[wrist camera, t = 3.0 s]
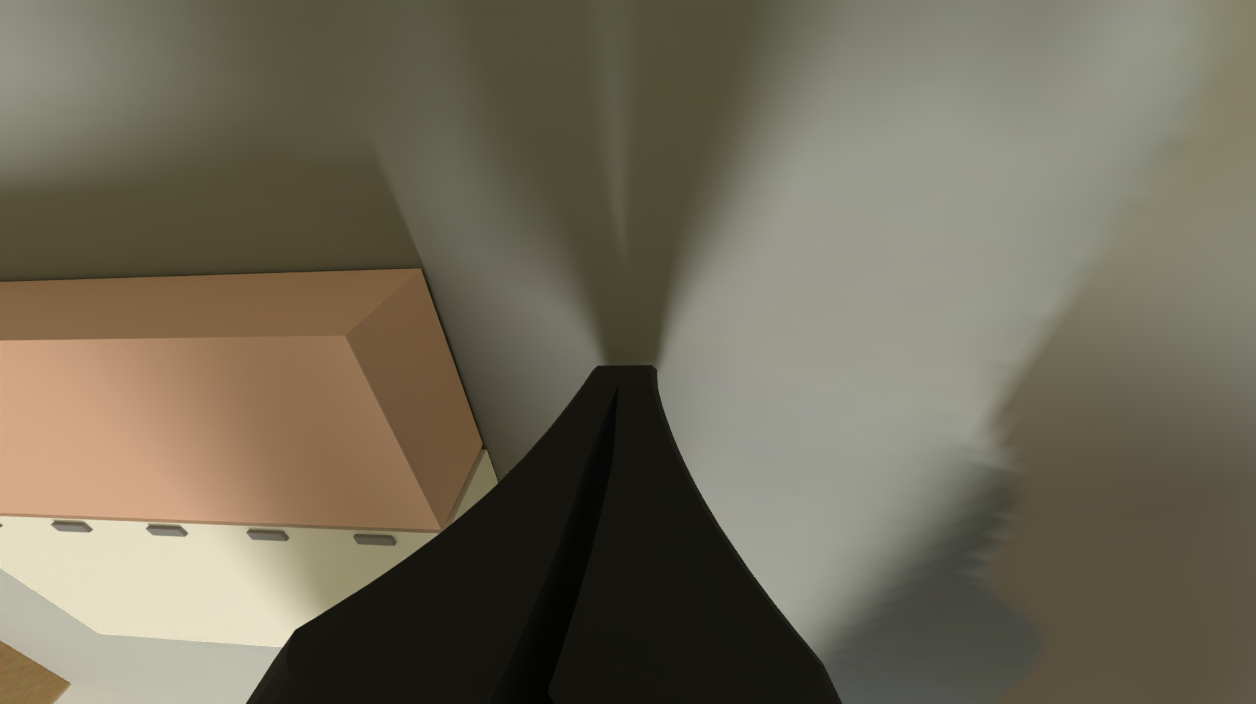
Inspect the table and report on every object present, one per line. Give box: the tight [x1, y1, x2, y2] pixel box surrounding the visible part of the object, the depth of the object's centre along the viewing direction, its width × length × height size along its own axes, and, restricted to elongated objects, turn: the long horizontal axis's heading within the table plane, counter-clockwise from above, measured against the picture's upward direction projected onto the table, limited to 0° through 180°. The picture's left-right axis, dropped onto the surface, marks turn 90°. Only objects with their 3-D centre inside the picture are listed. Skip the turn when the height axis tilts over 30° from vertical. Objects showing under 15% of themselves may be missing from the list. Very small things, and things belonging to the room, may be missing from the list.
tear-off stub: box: [0, 268, 483, 530], centre depth 11 cm, size 6×16×3 cm, turn 94°
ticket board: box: [0, 449, 498, 647], centre depth 15 cm, size 7×16×3 cm, turn 94°
